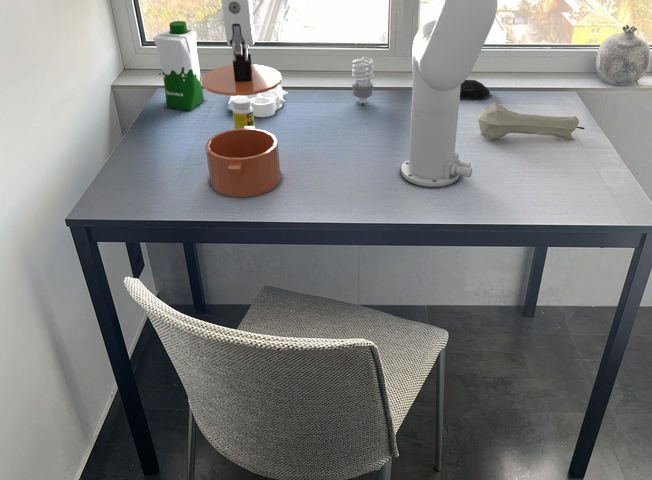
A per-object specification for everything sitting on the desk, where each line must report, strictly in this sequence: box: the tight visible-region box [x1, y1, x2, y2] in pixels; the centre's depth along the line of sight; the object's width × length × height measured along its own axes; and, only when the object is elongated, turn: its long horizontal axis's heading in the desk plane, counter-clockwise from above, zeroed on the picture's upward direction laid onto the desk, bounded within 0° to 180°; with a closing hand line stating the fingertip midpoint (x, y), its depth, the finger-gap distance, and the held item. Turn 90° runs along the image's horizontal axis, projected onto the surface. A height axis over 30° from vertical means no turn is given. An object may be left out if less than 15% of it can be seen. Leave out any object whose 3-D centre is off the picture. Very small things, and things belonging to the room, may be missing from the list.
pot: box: [204, 125, 281, 198], centre depth 142 cm, size 14×20×8 cm
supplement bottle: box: [232, 97, 255, 129], centre depth 160 cm, size 5×5×8 cm
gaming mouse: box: [460, 79, 491, 100], centre depth 181 cm, size 6×15×4 cm, turn 81°
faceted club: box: [478, 102, 585, 141], centre depth 159 cm, size 9×8×25 cm
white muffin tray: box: [227, 84, 289, 118], centre depth 177 cm, size 3×18×15 cm
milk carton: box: [152, 20, 205, 112], centre depth 171 cm, size 9×9×20 cm
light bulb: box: [351, 56, 375, 104], centre depth 174 cm, size 6×6×12 cm
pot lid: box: [201, 63, 283, 97], centre depth 132 cm, size 15×15×6 cm
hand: (243, 77), depth 133 cm, fingers closed on pot lid, 2 cm apart
